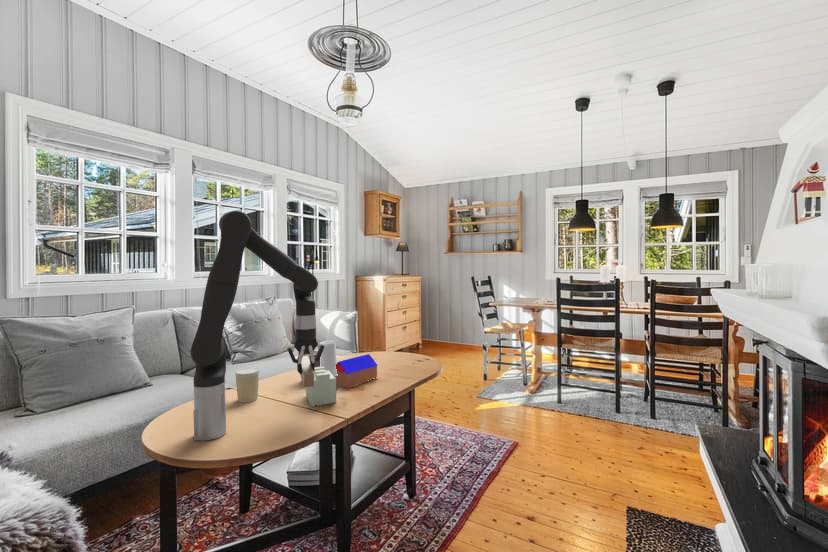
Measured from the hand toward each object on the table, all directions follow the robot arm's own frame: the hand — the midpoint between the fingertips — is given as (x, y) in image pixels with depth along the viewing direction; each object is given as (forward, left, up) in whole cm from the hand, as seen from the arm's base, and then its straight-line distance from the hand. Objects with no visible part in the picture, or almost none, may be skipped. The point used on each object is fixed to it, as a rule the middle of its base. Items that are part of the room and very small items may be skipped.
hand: (306, 372), depth 147 cm
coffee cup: (-20, +30, -16) cm, 39 cm away
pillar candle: (+9, +46, -16) cm, 49 cm away
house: (+28, +36, -16) cm, 49 cm away
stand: (+8, +16, -16) cm, 24 cm away
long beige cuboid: (0, +1, -2) cm, 2 cm away
